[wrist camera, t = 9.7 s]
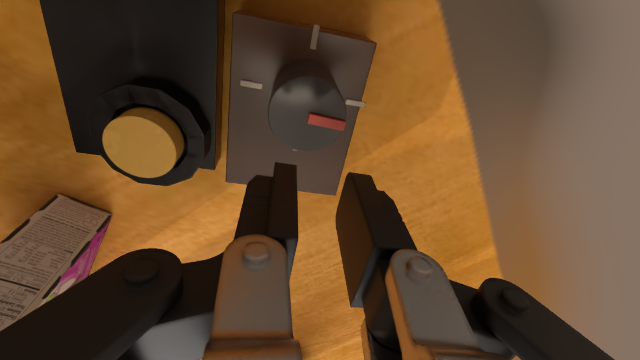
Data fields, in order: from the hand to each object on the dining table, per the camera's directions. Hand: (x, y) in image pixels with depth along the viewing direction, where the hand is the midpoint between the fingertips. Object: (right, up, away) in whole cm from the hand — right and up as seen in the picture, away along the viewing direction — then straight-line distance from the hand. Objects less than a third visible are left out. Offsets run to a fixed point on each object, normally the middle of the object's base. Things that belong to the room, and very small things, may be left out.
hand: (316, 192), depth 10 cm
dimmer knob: (-1, +6, +10) cm, 12 cm away
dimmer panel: (-2, +6, +14) cm, 15 cm away
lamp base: (-12, +10, +11) cm, 19 cm away
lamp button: (-12, +3, +10) cm, 16 cm away
